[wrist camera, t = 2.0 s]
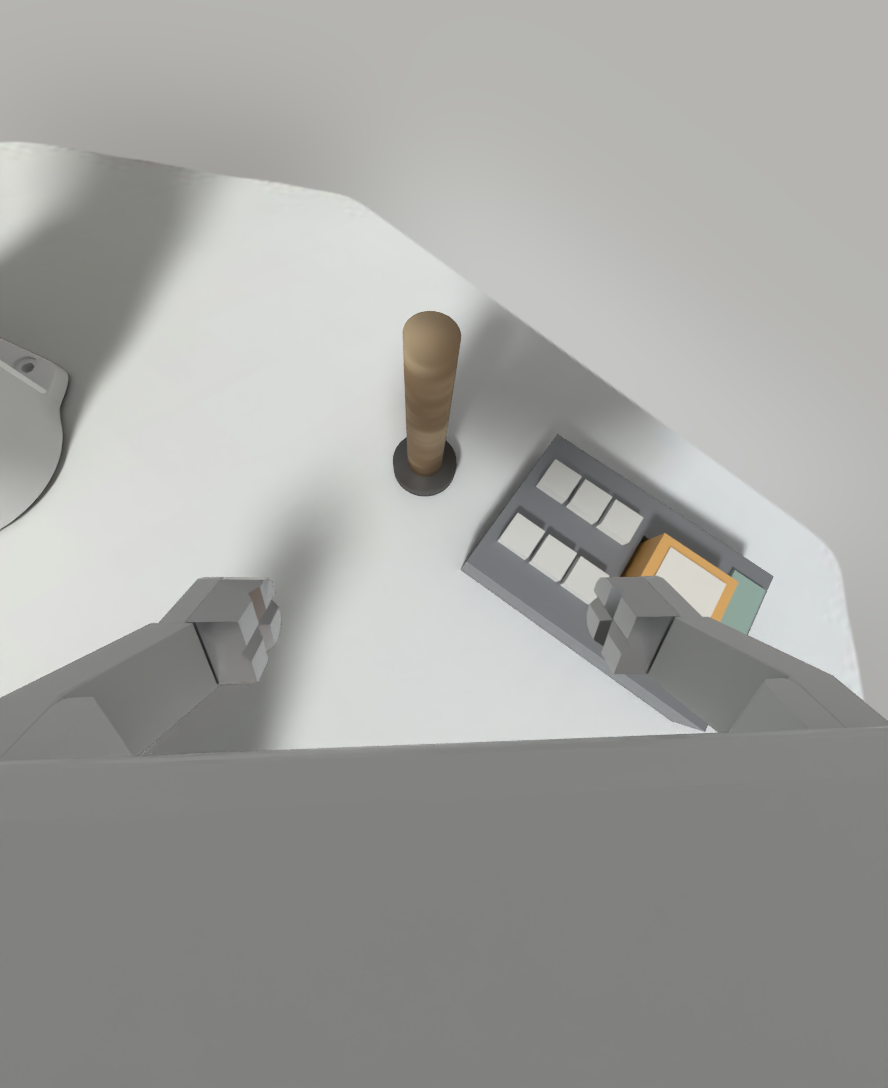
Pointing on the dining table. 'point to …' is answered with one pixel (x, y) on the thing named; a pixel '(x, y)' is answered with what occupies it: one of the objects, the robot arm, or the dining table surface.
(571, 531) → the key board
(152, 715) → the robot arm
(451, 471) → the wooden post
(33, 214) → the dining table surface
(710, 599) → the key
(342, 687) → the dining table surface
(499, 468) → the dining table surface
